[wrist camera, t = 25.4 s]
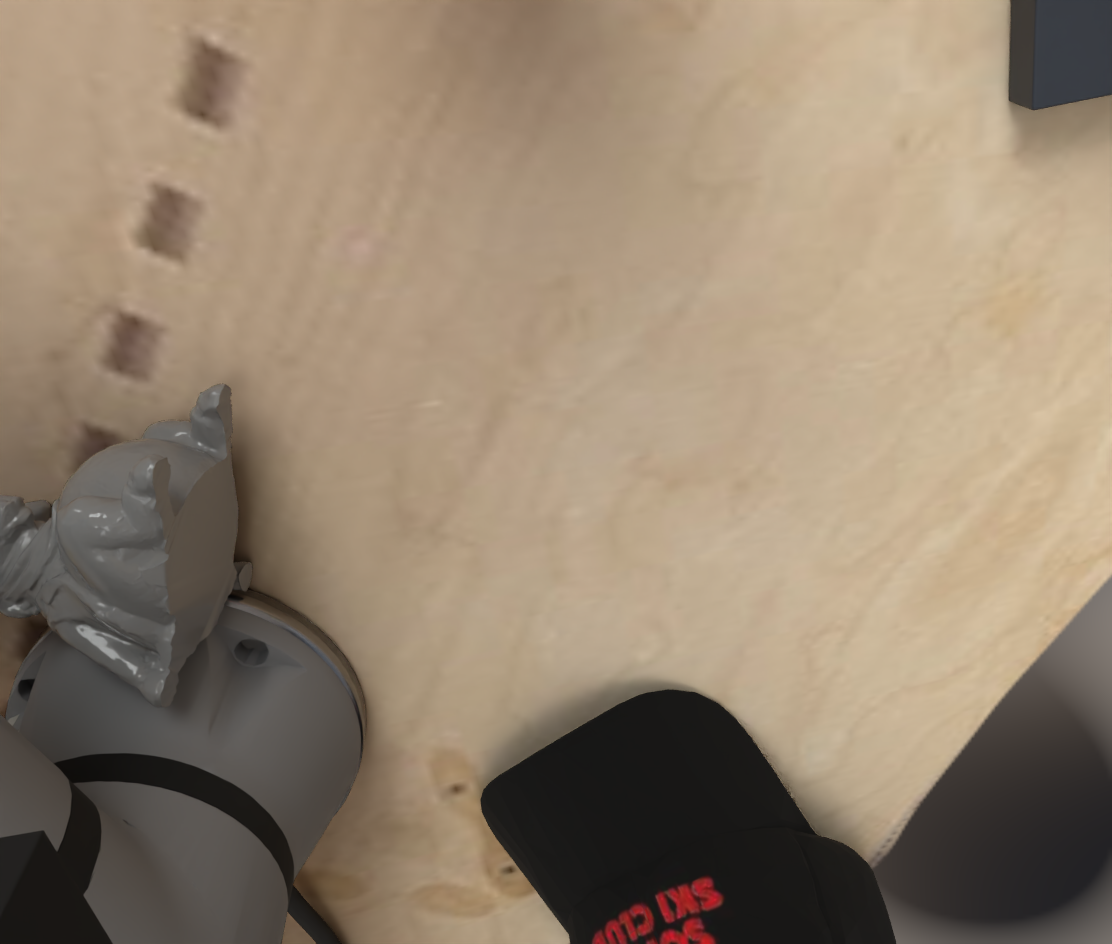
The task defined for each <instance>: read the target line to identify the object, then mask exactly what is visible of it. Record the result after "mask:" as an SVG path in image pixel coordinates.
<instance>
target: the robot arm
mask: <svg viewBox="0 0 1112 944" xmlns="http://www.w3.org/2000/svg"><path fill="white" fill-rule="evenodd" d="M178 679H179V682H178V684H177V685H176V689H177V690H176V691H177V692H176V693H175V695H174V696H173V699H174V700H173V701H172V702H171V705H170V706H167V707H159V708H157V707H154V706H153V705H152V704H150V703H149V702H148V701H147V700H145V698H144V697H143V695H142V694H141V692H140V690H139V689H137V688H134V687H133V686H131V685H129V684H128V683H126V682H124V681H123V680H121V679H120V678H119V677H118V676H117V675H115V674H113V673H111V672H109V671H108V670H106V669H105V668H103V667H101V666H99V665H98V664H96V663H95V662H93V661H92V660H90V659H89V658H88V657H87V656H85V655H83V654H82V653H80V652H79V651H78V650H76V649H75V648H73V647H72V646H70V645H69V644H68V643H67V642H65V641H64V640H63V639H62V638H61V637H60V636H59V635H57V634H56V633H55V632H54V631H52V629H51V628H50V627H49V626H47V627H46V628H45V629H44V631H43V632H42V633H41V635H40V636H39V638H38V639H37V641H36V642H35V644H34V645H33V647H32V649H31V650H30V652H29V653H28V655H27V656H26V658H25V660H24V661H23V663H22V664H21V666H20V669H19V671H18V673H17V675H16V677H15V681H14V684H13V687H12V690H11V693H10V696H9V700H8V705H7V710H6V719H5V718H4V717H3V716H2V715H0V944H281V943H282V938H283V933H284V928H285V922H286V917H287V912H288V913H289V914H290V915H291V916H292V917H293V918H294V919H295V920H296V921H297V923H298V924H299V925H300V926H301V927H302V928H303V929H304V930H305V931H306V932H307V933H308V934H309V935H310V936H311V937H312V938H313V940H314V941H315V942H316V943H317V944H342V943H341V942H340V940H339V939H338V938H337V936H336V935H335V933H334V932H333V931H332V929H331V928H330V927H329V926H328V924H327V923H326V922H325V921H324V920H323V919H322V918H321V916H320V915H319V914H318V913H317V912H316V911H315V910H314V909H313V908H312V907H311V906H310V904H309V903H308V902H307V901H306V900H305V899H304V898H303V896H302V895H301V894H300V893H299V891H298V890H297V889H296V888H295V887H294V885H293V883H294V879H295V877H296V876H297V874H298V873H299V871H300V870H301V868H302V866H303V865H304V863H305V862H306V860H307V859H308V857H309V855H310V854H311V852H312V851H313V849H314V848H315V846H316V844H317V843H318V841H319V839H320V838H321V836H322V835H323V833H324V831H325V830H326V828H327V826H328V824H329V823H330V821H331V819H332V818H333V817H334V816H335V814H336V813H337V812H338V810H339V809H340V808H341V806H342V805H343V803H344V802H345V800H346V798H347V796H348V794H349V792H350V790H351V787H352V785H353V783H354V781H355V778H356V776H357V773H358V770H359V767H360V762H361V758H362V752H363V746H364V740H365V732H366V709H365V703H364V698H363V695H362V691H361V688H360V685H359V683H358V680H357V678H356V676H355V674H354V672H353V670H352V668H351V667H350V665H349V663H348V661H347V660H346V659H345V657H344V656H343V654H342V653H341V652H340V650H339V649H338V648H337V647H336V646H335V644H334V643H333V642H332V641H331V640H330V639H329V638H328V637H327V636H326V635H325V634H324V633H323V632H322V631H321V630H320V629H318V628H317V627H316V626H315V625H314V624H312V623H311V622H310V621H308V620H307V619H306V618H305V617H303V616H302V615H300V614H298V613H297V612H295V611H294V610H292V609H291V608H289V607H287V606H285V605H283V604H281V603H280V602H278V601H276V600H274V599H271V598H269V597H267V596H265V595H262V594H260V593H257V592H255V591H252V590H249V589H247V591H242V590H233V589H232V592H231V594H230V595H229V596H228V598H227V600H226V602H225V604H224V607H223V610H222V612H221V614H220V616H219V619H218V623H217V625H216V626H215V627H214V628H213V630H212V631H211V632H210V634H209V635H208V637H206V638H205V639H204V640H203V641H201V642H199V645H198V644H197V647H196V650H195V651H194V652H193V655H192V654H191V655H190V656H189V657H188V658H186V662H185V663H184V665H183V666H182V668H181V669H180V671H179V673H178Z"/></svg>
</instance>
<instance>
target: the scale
mask: <svg viewBox="0 0 1112 944" xmlns="http://www.w3.org/2000/svg"><path fill="white" fill-rule="evenodd" d="M1108 95H1112V0H1011V41H1010V84H1009V100H1010V101H1011V102H1013V103H1016V104H1018V105H1021V106H1023V107H1026V108H1028V109H1031V110H1038V109H1043V108H1048V107H1053V106H1058V105H1063V104H1068V103H1073V102H1078V101H1083V100H1088V99H1093V98H1098V97H1103V96H1108Z"/></svg>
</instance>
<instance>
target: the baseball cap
mask: <svg viewBox="0 0 1112 944" xmlns="http://www.w3.org/2000/svg"><path fill="white" fill-rule="evenodd" d="M481 808H482V813H483V815H484V817H485V819H486V821H487V823H488V825H489V827H490V829H491V830H492V832H493V834H494V835H495V837H496V838H497V840H498V841H499V842H500V844H501V845H502V846H503V847H504V849H505V850H506V851H507V853H508V854H509V855H510V857H511V858H512V859H513V860H514V862H515V863H516V865H517V866H518V867H519V869H520V870H521V871H522V873H523V874H524V875H525V877H526V878H527V879H528V881H529V882H530V883H531V885H532V886H533V887H534V889H535V890H536V891H537V893H538V894H539V895H540V897H541V898H542V899H543V901H544V902H545V903H546V905H547V906H548V907H549V909H550V910H551V911H552V913H553V914H554V915H555V917H556V918H557V919H558V921H559V922H560V923H561V925H562V926H563V927H564V929H565V930H566V931H567V933H568V934H569V938H570V944H896V940H895V936H894V933H893V930H892V926H891V922H890V919H889V915H888V912H887V909H886V906H885V903H884V901H883V898H882V895H881V892H880V889H879V887H878V884H877V881H876V878H875V876H874V873H873V871H872V869H871V868H870V866H869V865H868V864H867V862H866V861H865V860H864V859H863V858H862V857H861V856H860V855H858V854H857V853H856V852H855V851H854V850H853V849H851V848H850V847H848V846H847V845H845V844H843V843H840V842H838V841H835V840H832V839H829V838H826V837H821V836H817V835H816V834H815V832H814V831H813V830H812V828H811V827H810V826H809V824H808V822H807V821H806V819H805V818H804V816H803V815H802V813H801V812H800V810H799V809H798V807H797V806H796V804H795V803H794V801H793V800H792V798H791V797H790V795H789V794H788V792H787V790H786V789H785V787H784V786H783V784H782V783H781V781H780V780H779V778H778V776H777V775H776V773H775V772H774V770H773V769H772V767H771V766H770V764H769V763H768V761H767V760H766V759H765V757H764V756H763V754H762V753H761V751H760V750H759V749H758V747H757V746H756V744H755V743H754V742H753V740H752V739H751V737H750V736H749V735H748V734H747V732H746V731H745V730H744V729H743V727H742V726H741V725H740V724H739V723H738V721H737V720H736V719H735V718H734V717H733V716H732V715H731V714H730V713H729V712H728V711H726V710H725V709H724V708H723V707H722V706H721V705H719V704H718V703H716V702H714V701H712V700H710V699H708V698H706V697H704V696H702V695H700V694H697V693H695V692H687V691H679V690H662V691H656V692H650V693H645V694H641V695H638V696H636V697H634V698H632V699H630V700H627V701H625V702H623V703H621V704H619V705H617V706H615V707H613V708H611V709H610V710H608V711H606V712H605V713H603V714H601V715H599V716H598V717H596V718H594V719H592V720H591V721H589V722H587V723H585V724H584V725H582V726H580V727H578V728H577V729H575V730H573V731H572V732H570V733H568V734H566V735H565V736H563V737H561V738H560V739H558V740H556V741H554V742H553V743H551V744H550V745H548V746H546V747H545V748H543V749H541V750H540V751H538V752H536V753H535V754H533V755H532V756H530V757H528V758H527V759H525V760H524V761H522V762H520V763H519V764H517V765H516V766H514V767H512V768H511V769H509V770H507V771H506V772H504V773H502V774H501V775H499V776H498V777H497V778H495V779H494V780H492V781H491V782H490V783H489V784H488V785H487V786H486V788H485V789H484V790H483V793H482V797H481Z"/></svg>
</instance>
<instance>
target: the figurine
mask: <svg viewBox="0 0 1112 944" xmlns="http://www.w3.org/2000/svg"><path fill="white" fill-rule="evenodd" d="M231 394H232V393H231V388H230V387H229V386H227V385H226V384H217V385H214V386H212V387H210V388H208V389H207V390H205V391H204V392H201V393H200V395H199V397H198V399H197V402H196V405H195V406H194V407H193V408H192V410H191V411H190V421H191V422H190V421H187V420H185V421H184V420H163V421H159V422H156V423H153V424H151V425H150V426H149V427H148V428H147V429H146V430H145V432H144V434H143V436H142V439H136V440H129V441H125V442H122V443H119V444H115V445H112V446H109V447H107V448H105V449H103V450H101V451H99V452H97V453H95V454H94V455H92V456H91V457H90V458H88V459H87V460H86V461H85V462H84V463H83V464H81V466H80V467H79V468H78V469H77V470H76V471H75V472H74V473H73V474H72V476H71V477H70V478H69V479H68V480H67V482H66V483H65V485H64V488H63V490H62V492H61V495H60V497H59V499H57V500H55V501H54V503H53V505H52V517H51V518H50V519H49V517H50V514H51V506H50V504H49V503H48V502H47V501H46V500H39V501H33V502H28V503H24V499H23V498H22V497H19V496H9V495H0V613H2V614H4V615H6V616H8V617H13V618H27V617H30V616H31V615H38V614H39V613H41V614H42V615H43V617H44V618H45V619H46V620H47V623H48V626H49V627H50V628H51V629H52V631H54V632H55V633H56V634H57V635H59V636H60V637H61V638H62V639H63V640H64V641H65V642H67V643H68V644H69V645H70V646H72V647H73V648H75V649H76V650H78V651H79V652H80V653H82V654H83V655H85V656H87V657H88V658H89V659H90V660H92V661H93V662H95V663H96V664H98V665H99V666H101V667H103V668H105V669H106V670H108V671H109V672H111V673H113V674H115V675H117V676H118V677H119V678H120V679H121V680H123V681H124V682H126V683H128V684H129V685H131V686H133V687H134V688H137V689H139V690H140V692H141V694H142V695H143V697H144V698H145V700H147V701H148V702H149V703H150V704H152V705H153V706H154V707H157V708H159V707H167V706H170V705H171V702H172V701H173V700H174V699H173V696H174V695H175V693H176V692H177V691H176V690H177V689H176V685H177V684H178V682H179V679H178V673H179V671H180V669H181V668H182V666H183V665H184V663H185V662H186V658H188V657H189V656H190V655H191V654H192V655H193V652H194V651H195V650H196V647H197V644H198V645H199V642H201V641H203V640H204V639H205V638H206V637H208V635H209V634H210V632H211V631H212V630H213V628H214V627H215V626H216V625H217V623H218V619H219V616H220V614H221V612H222V610H223V607H224V604H225V602H226V600H227V598H228V596H229V595H230V594H231V592H232V589H233V590H242V591H247V589H248V588H249V585H250V583H251V579H252V568H253V567H252V564H251V562H249V563H247V562H233V558H234V557H233V556H234V551H235V542H236V538H237V529H238V515H239V513H238V512H239V510H238V502H237V497H236V489H235V480H234V476H233V470H232V469H233V467H232V460H231V459H232V458H231V457H232V456H231V455H232V454H231V451H230V448H232V443H231V438H232V437H231V435H232V433H233V427H232V408H231V407H232V405H231V399H230V397H231Z"/></svg>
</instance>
